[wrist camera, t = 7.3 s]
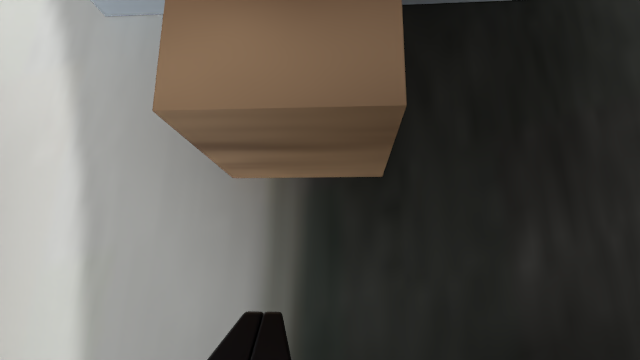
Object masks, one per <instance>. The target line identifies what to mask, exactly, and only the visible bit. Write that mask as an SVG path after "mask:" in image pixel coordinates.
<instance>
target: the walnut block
mask: <svg viewBox="0 0 640 360" xmlns="http://www.w3.org/2000/svg"><path fill="white" fill-rule="evenodd" d="M406 106H407V103H406V82H405V60H404V39H403V17H402V0H165V5H164V13H163V22H162V31H161V40H160V49H159V57H158V66H157V75H156V84H155V93H154V102H153V110H152V111H153V112H154V113H156V114H157V115H158V116H159V117H160V118H162V119H163V120H164V121H165V122H166V123H168V124H169V125H170V126H171V127H172V128H174V129H175V130H176V131H177V132H178V133H180V134H181V135H182V136H183V137H184V138H186V139H187V140H188V141H189V142H190V143H192V144H193V145H194V146H195V147H196V148H197V149H199V150H200V151H201V152H202V153H203V154H205V155H206V156H207V157H208V158H209V159H211V160H212V161H213V162H214V163H215V164H217V165H218V166H219V167H220V168H221V169H223V170H224V171H225V172H226V173H227V174H229V175H230V176H231V177H232V178H296V177H382V176H383V173H384V170H385V167H386V164H387V161H388V158H389V155H390V152H391V149H392V147H393V144H394V141H395V138H396V135H397V132H398V129H399V126H400V123H401V120H402V117H403V114H404V111H405V109H406Z"/></svg>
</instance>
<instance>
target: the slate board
mask: <svg viewBox="0 0 640 360" xmlns="http://www.w3.org/2000/svg"><path fill="white" fill-rule="evenodd" d="M91 1H92V3H93V4H94V5H95V6H96V7H97V8H98V9H99V10H100V11H101V12H102V13H103V14H104V15H105V16H127V15H153V14H163V13H164V5H165V0H91ZM484 1H510V0H402V5H408V4H433V3H459V2H484Z"/></svg>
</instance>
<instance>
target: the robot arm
mask: <svg viewBox="0 0 640 360" xmlns="http://www.w3.org/2000/svg"><path fill="white" fill-rule="evenodd" d="M207 360H291V356H290V351H289V346H288V341H287V336H286V331H285V326H284V321H283V316H282V313H281V312H265V313H264V314H263V313H262V312H252V311H248V312H245V313H244V314H243V315H242V316H241V318H240V319H239V320H238V321H237V323H236V324H235V325H234V326H233V328H232V329H231V330H230V332H229V333H228V334H227V335H226V337H225V338H224V339H223V340H222V342H221V343H220V344H219V345H218V347H217V348H216V349H215V351H214V352H213V353H212V354H211V356H210V357H209V358H208V359H207Z"/></svg>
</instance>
